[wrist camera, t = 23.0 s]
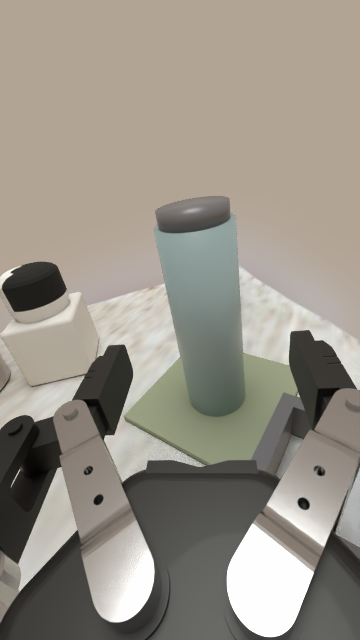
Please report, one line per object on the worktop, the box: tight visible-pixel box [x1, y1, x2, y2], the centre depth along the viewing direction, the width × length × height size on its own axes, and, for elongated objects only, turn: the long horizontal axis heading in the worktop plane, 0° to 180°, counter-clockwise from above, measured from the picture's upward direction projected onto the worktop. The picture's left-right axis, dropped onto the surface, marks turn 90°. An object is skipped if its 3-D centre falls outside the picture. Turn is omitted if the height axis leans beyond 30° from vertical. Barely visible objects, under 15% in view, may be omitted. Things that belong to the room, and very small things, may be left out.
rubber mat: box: [124, 353, 298, 466], centre depth 25 cm, size 12×12×1 cm
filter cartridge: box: [154, 196, 245, 417], centre depth 21 cm, size 5×5×16 cm
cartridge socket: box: [251, 392, 360, 559], centre depth 16 cm, size 8×8×3 cm
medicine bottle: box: [0, 262, 99, 386], centre depth 31 cm, size 7×7×12 cm
